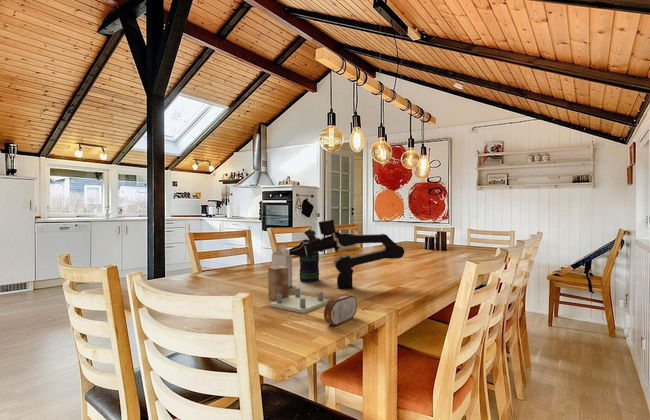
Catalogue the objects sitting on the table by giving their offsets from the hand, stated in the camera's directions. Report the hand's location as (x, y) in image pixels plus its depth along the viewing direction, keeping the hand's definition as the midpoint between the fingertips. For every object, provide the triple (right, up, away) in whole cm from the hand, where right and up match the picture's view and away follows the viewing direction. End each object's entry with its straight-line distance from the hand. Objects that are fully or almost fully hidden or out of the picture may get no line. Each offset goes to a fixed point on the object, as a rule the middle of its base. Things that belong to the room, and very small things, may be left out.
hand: (289, 252), depth 161 cm
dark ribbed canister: (+8, -16, +18) cm, 26 cm away
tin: (+21, -17, -45) cm, 53 cm away
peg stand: (+7, -17, -25) cm, 31 cm away
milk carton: (-4, -17, +5) cm, 18 cm away
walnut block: (-3, -17, -15) cm, 23 cm away
